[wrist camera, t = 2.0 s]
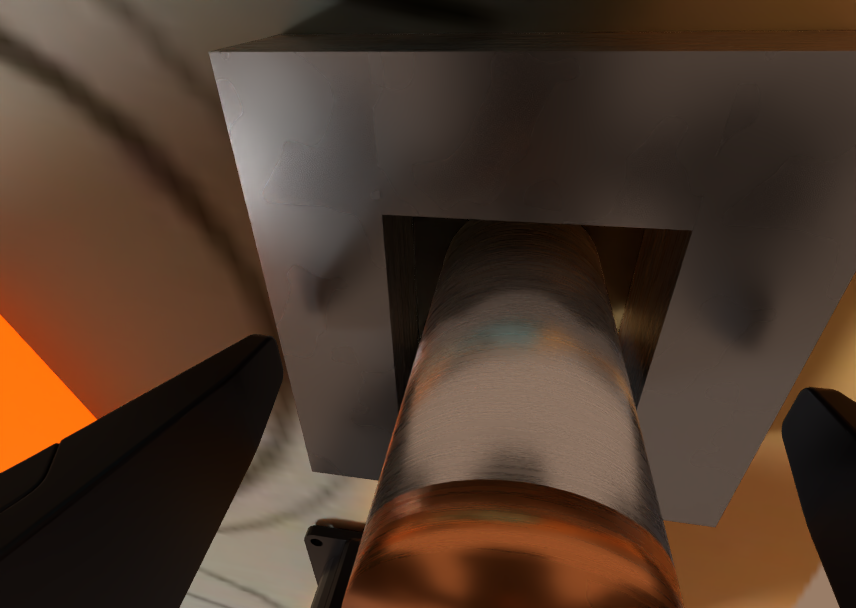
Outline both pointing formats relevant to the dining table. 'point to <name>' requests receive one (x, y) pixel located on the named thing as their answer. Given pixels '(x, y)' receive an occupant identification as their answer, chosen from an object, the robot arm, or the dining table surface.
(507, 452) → the pin
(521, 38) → the grey flat square frame
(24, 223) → the dining table surface
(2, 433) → the orange juice
